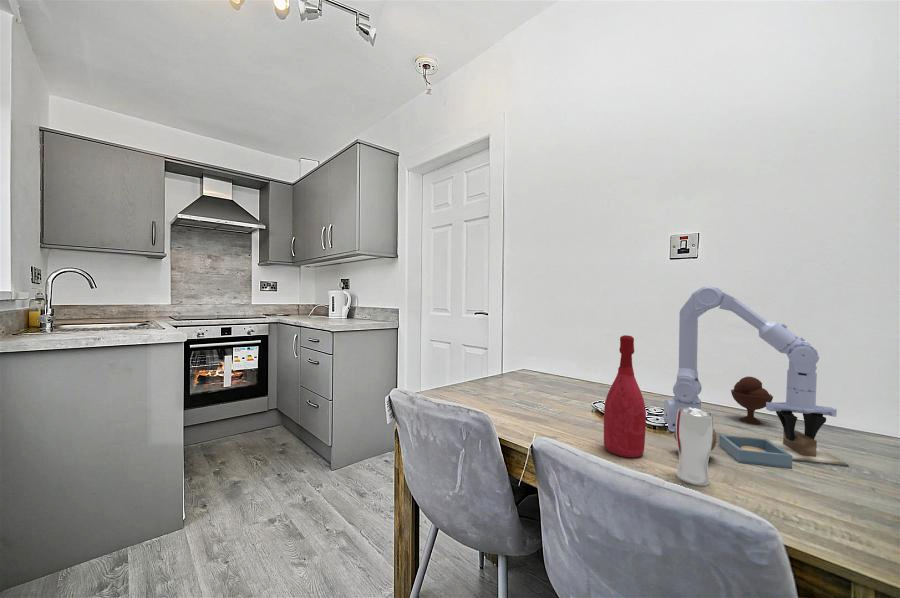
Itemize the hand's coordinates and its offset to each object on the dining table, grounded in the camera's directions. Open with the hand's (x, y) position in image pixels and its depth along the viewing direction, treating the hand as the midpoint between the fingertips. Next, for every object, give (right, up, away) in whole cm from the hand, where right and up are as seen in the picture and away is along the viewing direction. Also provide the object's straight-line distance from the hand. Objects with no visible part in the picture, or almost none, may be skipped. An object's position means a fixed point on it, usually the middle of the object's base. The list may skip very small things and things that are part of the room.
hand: (799, 440), depth 101 cm
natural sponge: (-30, -3, -4) cm, 30 cm away
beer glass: (-38, -3, -16) cm, 42 cm away
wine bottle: (-47, -2, -2) cm, 47 cm away
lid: (0, -3, 0) cm, 3 cm away
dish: (-14, -3, -3) cm, 15 cm away
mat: (0, -3, 0) cm, 3 cm away
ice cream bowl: (+7, -4, +26) cm, 27 cm away
